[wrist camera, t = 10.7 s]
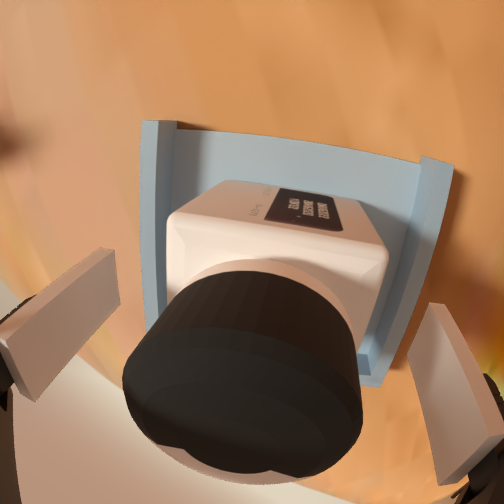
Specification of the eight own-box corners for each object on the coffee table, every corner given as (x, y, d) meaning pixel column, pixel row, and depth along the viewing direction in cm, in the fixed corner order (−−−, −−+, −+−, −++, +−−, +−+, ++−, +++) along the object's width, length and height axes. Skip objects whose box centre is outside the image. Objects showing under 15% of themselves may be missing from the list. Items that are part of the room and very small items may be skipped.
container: (222, 177, 17) (59, 283, 6) (360, 199, 16) (452, 359, 5) (213, 296, 20) (119, 466, 9) (331, 317, 20) (333, 513, 8)
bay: (162, 120, 17) (141, 120, 15) (436, 159, 15) (454, 165, 13) (162, 325, 23) (148, 345, 20) (375, 363, 21) (379, 387, 18)
